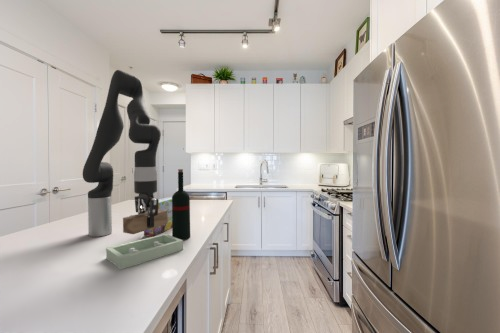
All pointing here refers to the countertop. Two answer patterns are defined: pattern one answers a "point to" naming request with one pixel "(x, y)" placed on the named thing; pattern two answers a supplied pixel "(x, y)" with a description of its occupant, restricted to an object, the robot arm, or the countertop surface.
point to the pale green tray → (143, 250)
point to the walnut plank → (143, 222)
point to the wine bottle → (181, 211)
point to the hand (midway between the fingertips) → (146, 225)
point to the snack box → (167, 205)
